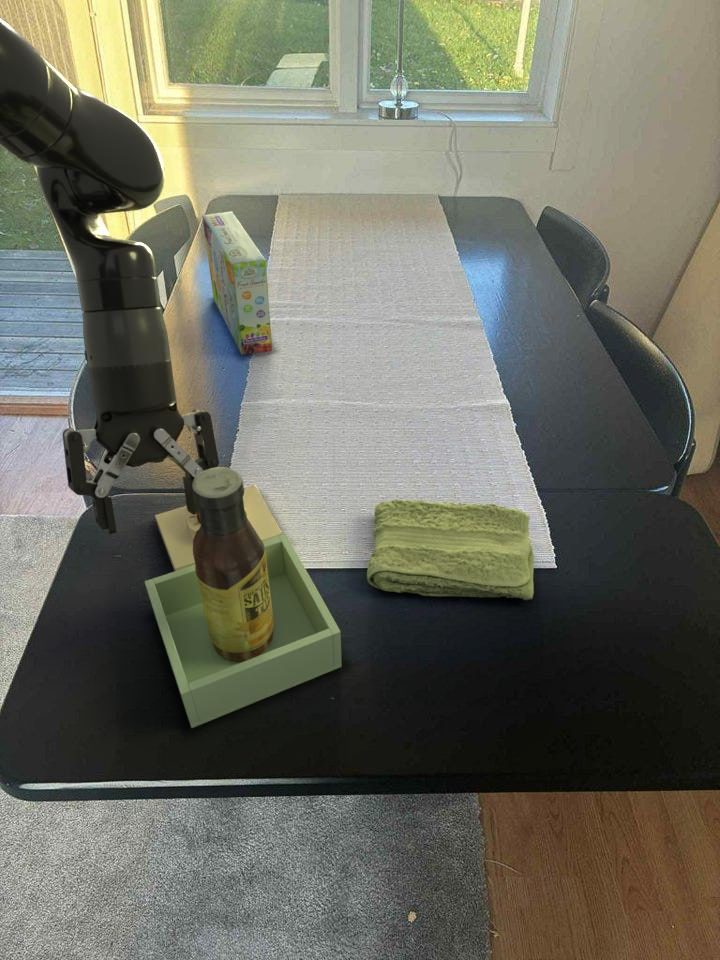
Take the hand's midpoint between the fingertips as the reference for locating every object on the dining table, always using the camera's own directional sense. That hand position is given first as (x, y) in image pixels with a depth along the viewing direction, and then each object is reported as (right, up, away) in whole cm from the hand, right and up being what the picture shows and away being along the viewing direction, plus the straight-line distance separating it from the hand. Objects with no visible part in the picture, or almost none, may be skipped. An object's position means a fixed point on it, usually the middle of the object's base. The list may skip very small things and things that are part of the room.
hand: (153, 521), depth 70 cm
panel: (+5, -2, +9) cm, 11 cm away
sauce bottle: (+9, -11, -2) cm, 15 cm away
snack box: (+1, +30, +47) cm, 56 cm away
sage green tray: (+9, -12, -1) cm, 15 cm away
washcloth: (+31, -4, +7) cm, 32 cm away
